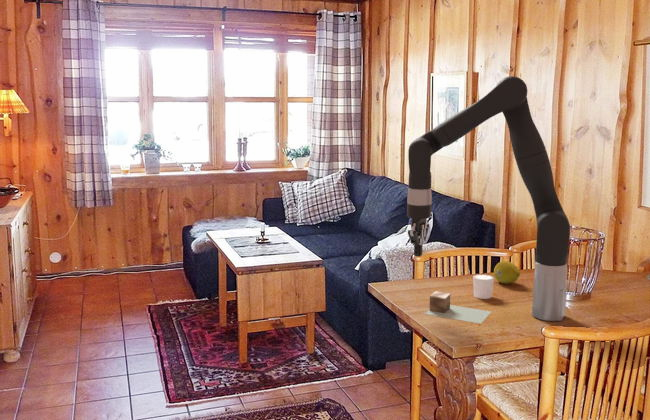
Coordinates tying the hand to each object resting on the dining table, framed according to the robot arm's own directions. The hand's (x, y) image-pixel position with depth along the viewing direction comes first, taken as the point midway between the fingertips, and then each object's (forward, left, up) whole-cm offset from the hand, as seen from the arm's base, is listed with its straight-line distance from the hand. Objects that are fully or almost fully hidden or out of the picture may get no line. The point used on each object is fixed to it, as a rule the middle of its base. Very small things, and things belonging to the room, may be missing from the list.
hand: (418, 255), depth 215 cm
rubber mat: (-14, 0, -17) cm, 22 cm away
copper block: (-8, 0, -17) cm, 18 cm away
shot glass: (-16, -20, -17) cm, 31 cm away
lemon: (-19, -39, -17) cm, 47 cm away
